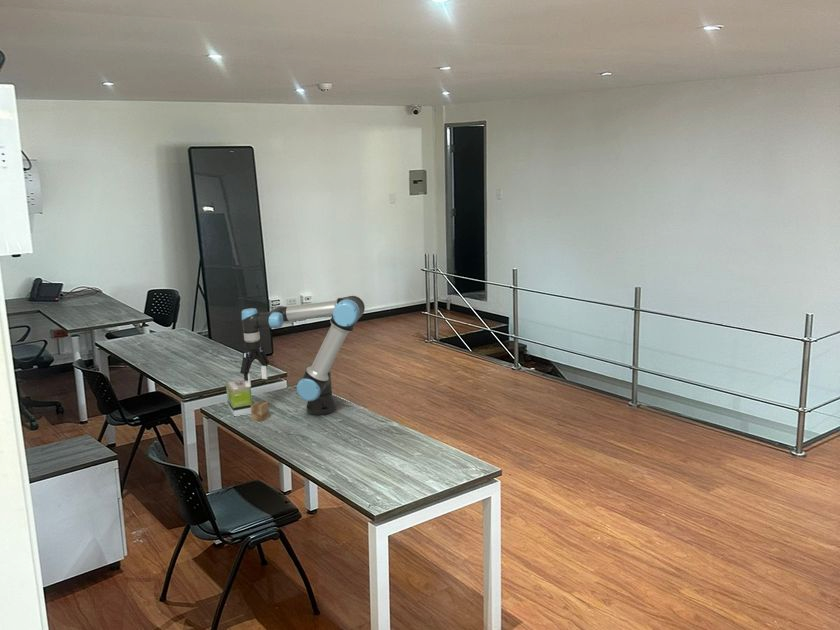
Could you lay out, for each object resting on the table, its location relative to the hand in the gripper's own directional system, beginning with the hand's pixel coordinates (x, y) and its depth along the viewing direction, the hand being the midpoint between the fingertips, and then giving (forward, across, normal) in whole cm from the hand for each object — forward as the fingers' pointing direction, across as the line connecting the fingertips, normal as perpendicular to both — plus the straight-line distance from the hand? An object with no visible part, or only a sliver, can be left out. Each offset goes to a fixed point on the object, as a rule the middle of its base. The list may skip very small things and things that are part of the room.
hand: (256, 382), depth 370 cm
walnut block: (+19, 0, 0) cm, 19 cm away
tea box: (+19, -6, -17) cm, 26 cm away
